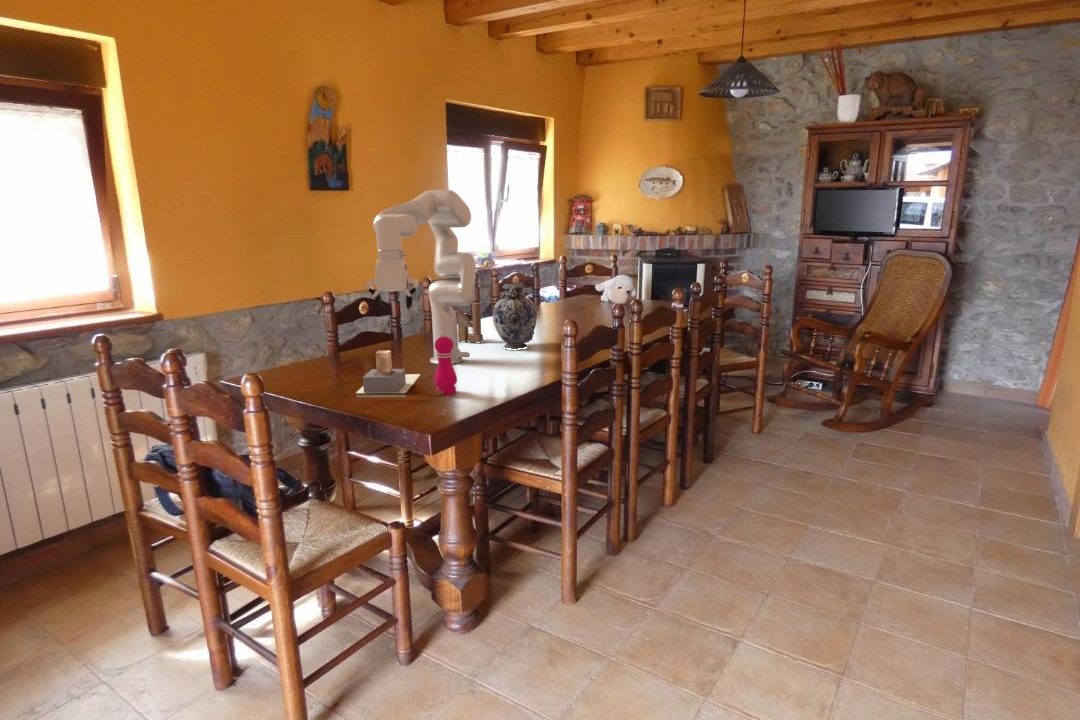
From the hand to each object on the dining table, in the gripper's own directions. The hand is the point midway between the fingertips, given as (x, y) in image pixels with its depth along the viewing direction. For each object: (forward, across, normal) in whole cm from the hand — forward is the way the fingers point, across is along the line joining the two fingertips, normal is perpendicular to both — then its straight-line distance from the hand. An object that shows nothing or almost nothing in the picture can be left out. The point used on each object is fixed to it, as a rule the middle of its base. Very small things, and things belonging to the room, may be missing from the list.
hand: (394, 308), depth 210 cm
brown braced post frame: (+30, -14, -75) cm, 82 cm away
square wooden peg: (+25, +3, +7) cm, 26 cm away
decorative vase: (+30, -35, -62) cm, 77 cm away
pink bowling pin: (+27, -17, +8) cm, 33 cm away
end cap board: (+27, +3, +1) cm, 27 cm away
